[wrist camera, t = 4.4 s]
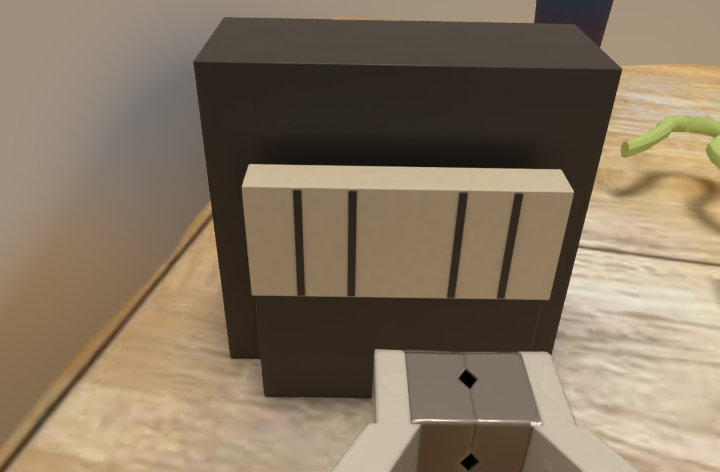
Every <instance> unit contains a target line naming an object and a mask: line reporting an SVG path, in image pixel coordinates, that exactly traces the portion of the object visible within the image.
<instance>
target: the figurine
mask: <svg viewBox="0 0 720 472" xmlns="http://www.w3.org/2000/svg"><path fill="white" fill-rule="evenodd" d="M671 132H692V133H700V134H704V135H708V136H712V137H714V138H712V140H711V141H710V143H709V144H708V146H707V148H706V152H707V155H708V157H709V159H710V160H711V162H712V163H713V164H715V165H716V166H717V167H718V168H719V169H720V122H719V121H715V120H712V119H707V118H701V117H693V116H669V117H666V118H664V119H662V120H661V121H660V122H659V123H658V124H657V126H656V127H655V128H653V129H652V130H650V131H649V132H647V133H646V134H644V135H641V136H639V137H637V138H634V139H631V140H628V141H625V142H623V144H622V146H621V155H622V157H624V158H626V157H629V156H632V155H635V154H638V153H640V152H643V151H645V150H648V149H649V148H651V147H652V146H654V145H655V144H657V143H659V142H660V141H662V140H663V139H665V138H667V137H668V135H669V134H670V133H671Z"/></svg>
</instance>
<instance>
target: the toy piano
mask: <svg viewBox="0 0 720 472" xmlns="http://www.w3.org/2000/svg"><path fill="white" fill-rule="evenodd" d="M193 63H194V70H195V79H196V86H197V95H198V103H199V111H200V119H201V126H202V134H203V142H204V150H205V158H206V166H207V174H208V182H209V190H210V198H211V206H212V214H213V222H214V230H215V238H216V246H217V253H218V261H219V269H220V277H221V285H222V293H223V301H224V309H225V317H226V325H227V333H228V341H229V349H230V356H231V357H250V358H261V365H262V376H263V387H264V395H265V396H323V397H372V384H373V363H374V351H375V349H383V350H403V351H404V350H425V351H452V352H517V353H518V352H548V353H549V354H550V355H551V354H552V350H553V346H554V342H555V338H556V334H557V330H558V326H559V322H560V318H561V314H562V310H563V306H564V302H565V298H566V294H567V290H568V286H569V282H570V277H571V273H572V269H573V265H574V261H575V257H576V253H577V249H578V245H579V241H580V237H581V233H582V229H583V225H584V221H585V217H586V213H587V209H588V205H589V201H590V197H591V193H592V189H593V185H594V181H595V177H596V173H597V169H598V165H599V161H600V157H601V153H602V149H603V145H604V141H605V137H606V133H607V129H608V125H609V121H610V117H611V113H612V109H613V105H614V101H615V96H616V92H617V88H618V84H619V80H620V76H621V72H622V68H621V67H620V66H618V65H617V64H616V63H615V62H614V61H613V60H612V59H611V58H610V57H609V56H608V55H607V54H606V53H605V52H603V51H602V49H601V48H599V47H598V46H597V45H596V44H595V43H594V42H593V41H592V40H591V39H590V38H589V37H588V36H587V35H586V34H585V33H584V32H583V31H581V30H580V29H579V28H578V27H577V26H576V25H575V24H544V23H492V22H487V23H486V22H438V21H437V22H436V21H388V20H336V19H284V18H283V19H281V18H232V17H225V18H223V20H222V21H221V22H220V24H219V25H218V27H217V28H216V30H215V31H214V33H213V34H212V35H211V37H210V38H209V40H208V41H207V43H206V44H205V45H204V47H203V48H202V50H201V51H200V53H199V54H198V55H197V57H196V58H195V60H194V62H193ZM249 164H266V165H325V166H384V167H442V168H501V169H560V170H562V172H563V173H564V175H565V177H566V179H567V180H568V182H569V184H570V186H571V187H572V189H573V191H574V195H573V199H572V204H571V208H570V212H569V217H568V221H567V225H566V230H565V234H564V238H563V243H562V247H561V251H560V256H559V260H558V264H557V269H556V273H555V277H554V282H553V286H552V290H551V295H550V299H549V300H524V299H457V298H390V297H323V296H256V295H252V292H251V282H250V271H249V261H248V250H247V239H246V229H245V218H244V208H243V197H242V184H243V181H244V178H245V175H246V172H247V169H248V165H249Z"/></svg>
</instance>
